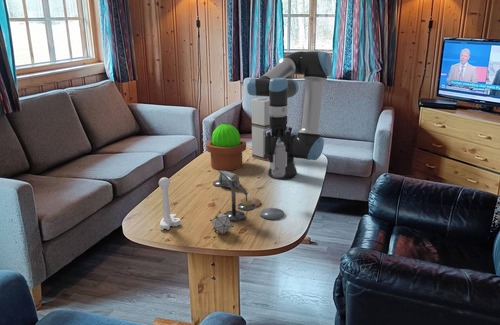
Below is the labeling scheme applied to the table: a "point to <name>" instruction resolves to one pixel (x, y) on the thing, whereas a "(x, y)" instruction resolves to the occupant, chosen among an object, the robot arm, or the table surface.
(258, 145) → the stacked white blocks
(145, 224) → the table surface
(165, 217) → the white mechanical bracket
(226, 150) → the potted cactus
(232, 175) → the ceramic mug
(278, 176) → the energy drink can
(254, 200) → the pink disc
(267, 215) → the grey round disc
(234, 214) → the balance
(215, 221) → the game die
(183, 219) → the table surface
